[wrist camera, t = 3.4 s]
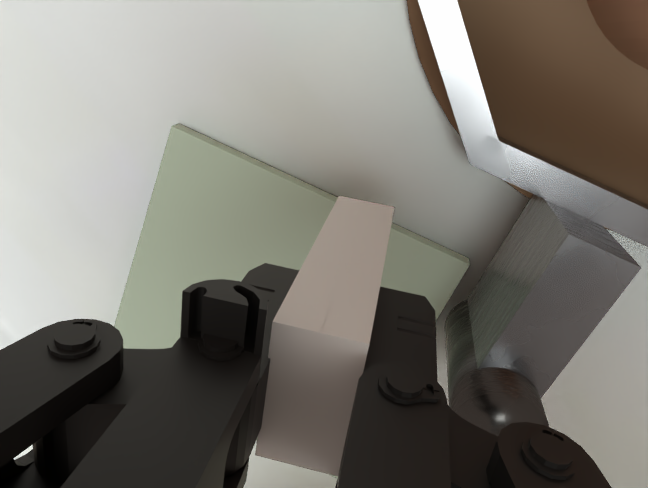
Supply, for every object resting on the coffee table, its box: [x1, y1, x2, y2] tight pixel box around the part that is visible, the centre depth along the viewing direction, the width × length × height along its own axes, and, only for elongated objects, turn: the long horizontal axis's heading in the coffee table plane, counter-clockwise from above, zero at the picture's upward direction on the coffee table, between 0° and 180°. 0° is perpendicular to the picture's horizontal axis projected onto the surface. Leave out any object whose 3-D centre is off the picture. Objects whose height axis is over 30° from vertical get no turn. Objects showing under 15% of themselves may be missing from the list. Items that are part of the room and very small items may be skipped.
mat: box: [114, 124, 470, 479], centre depth 22 cm, size 12×12×1 cm
